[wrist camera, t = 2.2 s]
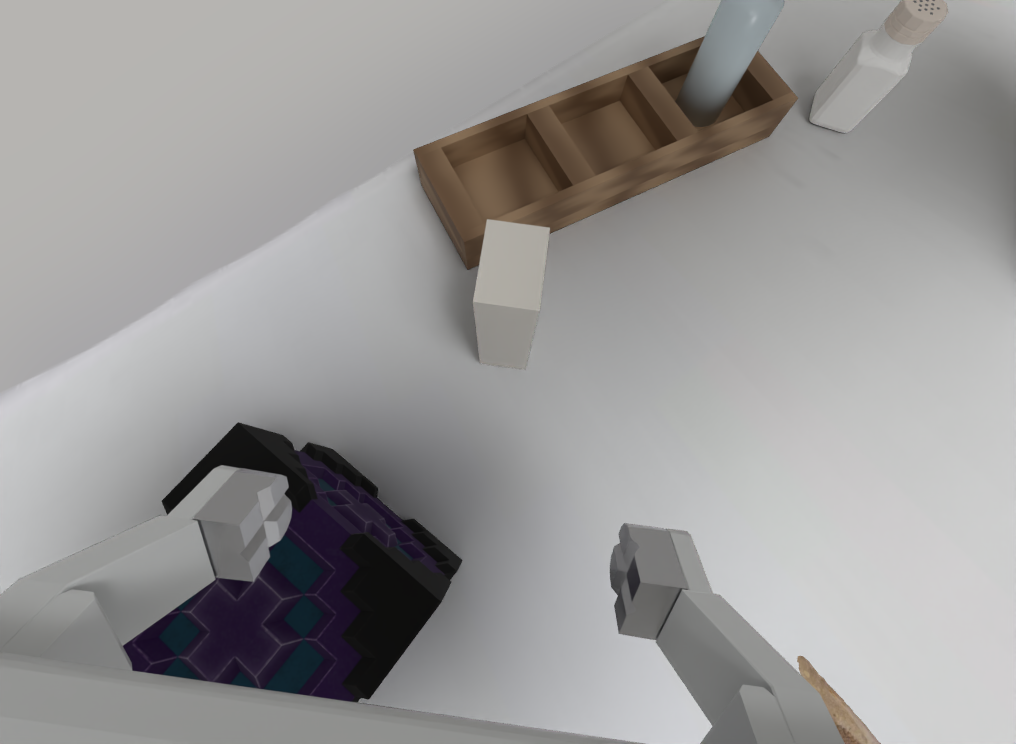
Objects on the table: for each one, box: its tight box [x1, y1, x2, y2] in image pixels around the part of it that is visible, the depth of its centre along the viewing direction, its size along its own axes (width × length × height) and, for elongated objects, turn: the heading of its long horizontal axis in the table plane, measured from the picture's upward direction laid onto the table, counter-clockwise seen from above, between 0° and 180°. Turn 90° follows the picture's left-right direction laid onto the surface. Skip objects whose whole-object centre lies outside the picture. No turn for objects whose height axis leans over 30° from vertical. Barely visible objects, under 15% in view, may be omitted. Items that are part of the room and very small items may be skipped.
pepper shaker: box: [809, 0, 948, 133], centre depth 36 cm, size 4×4×10 cm
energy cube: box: [123, 423, 462, 702], centre depth 23 cm, size 12×12×12 cm
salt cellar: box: [675, 0, 784, 127], centre depth 34 cm, size 4×4×9 cm
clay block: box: [473, 219, 550, 370], centre depth 29 cm, size 4×5×11 cm
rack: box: [413, 36, 798, 270], centre depth 37 cm, size 30×9×4 cm, turn 117°
